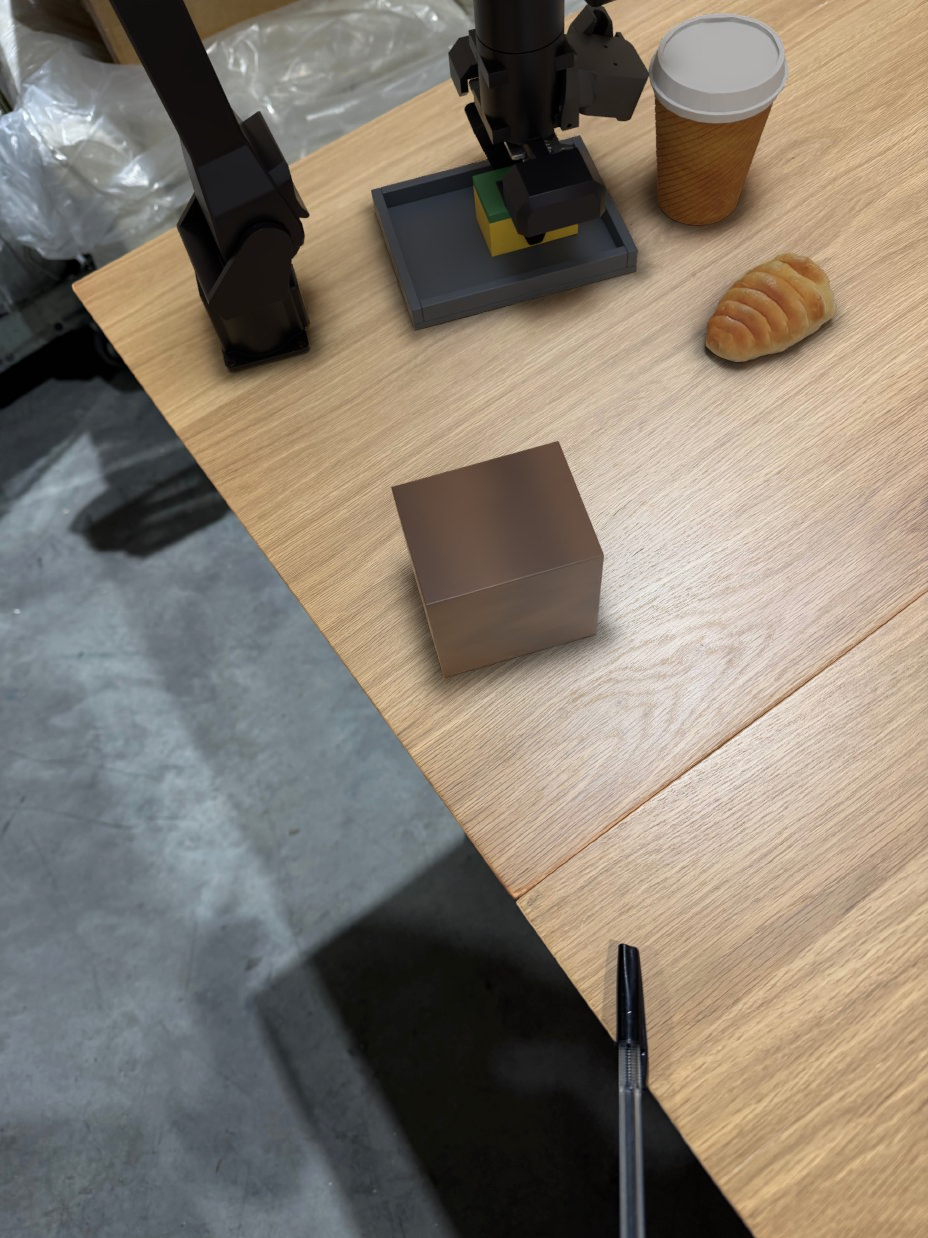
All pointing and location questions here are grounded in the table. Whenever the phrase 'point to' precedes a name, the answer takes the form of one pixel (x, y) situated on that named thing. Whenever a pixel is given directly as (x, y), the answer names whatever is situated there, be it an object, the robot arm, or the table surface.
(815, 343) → the table surface
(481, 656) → the cube
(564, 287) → the tray
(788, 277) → the pastry
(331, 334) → the table surface
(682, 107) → the disposable coffee cup
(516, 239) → the sponge
